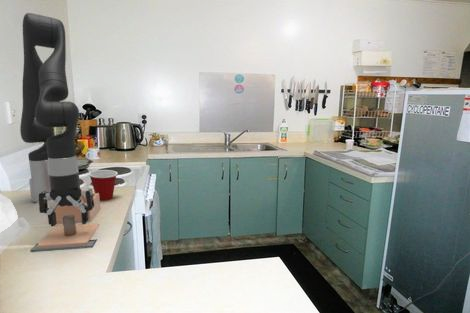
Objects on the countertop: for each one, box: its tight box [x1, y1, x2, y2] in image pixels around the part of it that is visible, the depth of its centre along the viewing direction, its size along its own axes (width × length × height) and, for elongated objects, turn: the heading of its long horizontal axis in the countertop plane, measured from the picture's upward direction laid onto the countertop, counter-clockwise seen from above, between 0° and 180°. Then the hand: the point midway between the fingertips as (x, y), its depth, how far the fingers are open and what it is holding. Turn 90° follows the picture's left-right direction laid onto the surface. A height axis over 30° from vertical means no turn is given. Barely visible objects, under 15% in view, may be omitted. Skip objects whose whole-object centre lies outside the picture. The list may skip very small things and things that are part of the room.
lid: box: [37, 215, 100, 249], centre depth 90 cm, size 13×13×6 cm
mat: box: [30, 239, 98, 253], centre depth 90 cm, size 16×14×1 cm
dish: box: [54, 192, 101, 224], centre depth 105 cm, size 12×12×7 cm
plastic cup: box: [88, 169, 118, 202], centre depth 123 cm, size 11×11×12 cm
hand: (69, 224), depth 90 cm, fingers open, 8 cm apart
